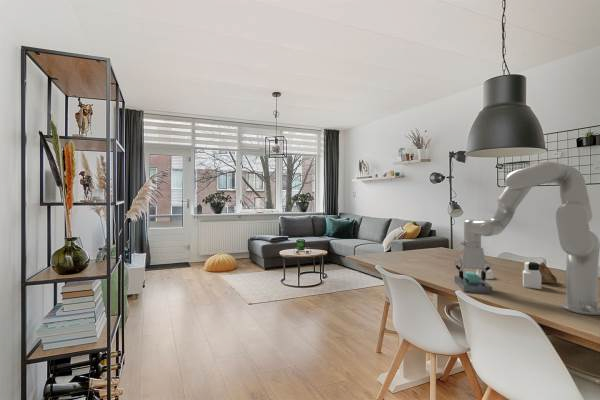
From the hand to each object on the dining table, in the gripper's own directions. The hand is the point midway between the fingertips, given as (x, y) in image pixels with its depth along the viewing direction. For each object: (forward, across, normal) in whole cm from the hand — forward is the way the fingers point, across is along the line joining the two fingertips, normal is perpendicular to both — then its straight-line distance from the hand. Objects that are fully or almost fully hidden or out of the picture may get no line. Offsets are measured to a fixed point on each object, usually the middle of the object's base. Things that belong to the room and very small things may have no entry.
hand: (472, 279), depth 164 cm
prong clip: (+4, 0, 0) cm, 4 cm away
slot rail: (+4, 0, 0) cm, 4 cm away
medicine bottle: (+4, +29, +8) cm, 30 cm away
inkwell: (+4, +8, +24) cm, 26 cm away
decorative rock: (+4, +38, +19) cm, 43 cm away
